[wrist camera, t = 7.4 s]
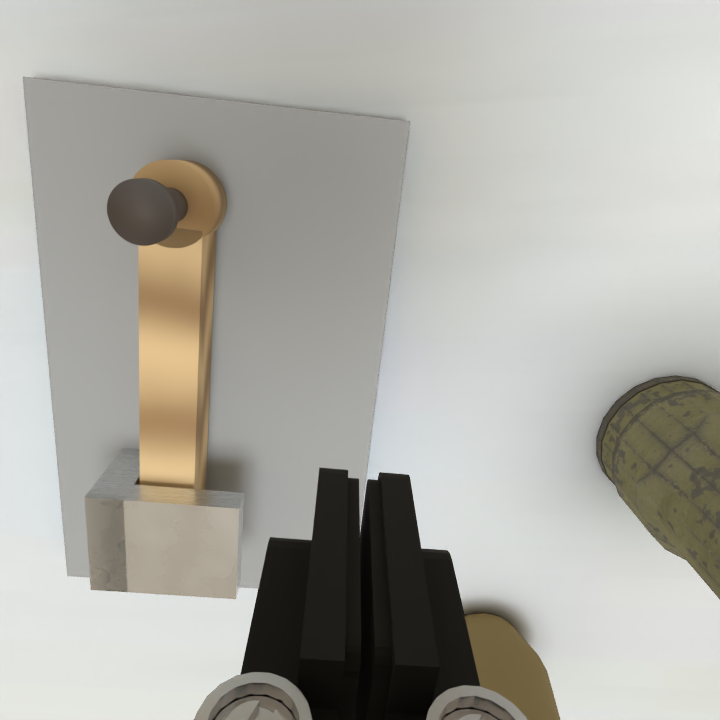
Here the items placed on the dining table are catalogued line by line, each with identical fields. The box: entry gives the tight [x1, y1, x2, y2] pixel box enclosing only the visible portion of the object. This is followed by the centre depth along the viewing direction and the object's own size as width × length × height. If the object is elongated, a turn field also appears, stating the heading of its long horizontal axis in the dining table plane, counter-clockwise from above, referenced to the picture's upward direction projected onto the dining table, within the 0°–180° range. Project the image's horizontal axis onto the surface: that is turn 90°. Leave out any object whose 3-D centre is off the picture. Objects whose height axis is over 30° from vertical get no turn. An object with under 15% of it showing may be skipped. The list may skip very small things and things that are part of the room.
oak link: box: [107, 160, 227, 490], centre depth 29 cm, size 23×4×7 cm, turn 173°
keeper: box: [84, 448, 244, 599], centre depth 33 cm, size 6×8×5 cm
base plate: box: [23, 77, 410, 588], centre depth 33 cm, size 30×19×2 cm, turn 174°
